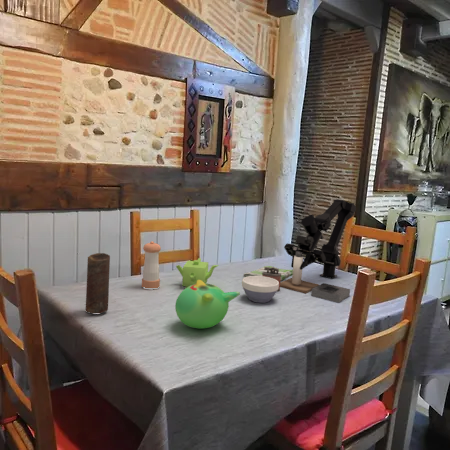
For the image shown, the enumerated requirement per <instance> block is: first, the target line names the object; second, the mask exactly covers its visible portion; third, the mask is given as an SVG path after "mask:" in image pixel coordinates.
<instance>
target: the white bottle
mask: <svg viewBox="0 0 450 450" xmlns="http://www.w3.org/2000/svg"><path fill="white" fill-rule="evenodd" d="M303 261H304V256H303V254H302V252H300V251H296V256H294V263H293V268H292V270H293V275H292V276H291V278H292V283H293V284H297V285H299V284H301V280H302V275H303V269H302V270H300V266H301V264H302V263H303Z"/></svg>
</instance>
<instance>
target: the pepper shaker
mask: <svg viewBox="0 0 450 450" xmlns="http://www.w3.org/2000/svg"><path fill="white" fill-rule="evenodd" d="M161 248H162V247H161V245H160V244H158V243H155V241H153V240H152V241H150V242H148V243H145V244H144V245H143V247H142V249H143V251H144V262H143V269H142V277H141V288H142V287H145V288H158V287H159V286H160V284H161V283H160V281H161V280H160V266H159V265H160V264H159V256H160V255H159V252H160V251H161V250H162V249H161ZM159 288H160V287H159Z"/></svg>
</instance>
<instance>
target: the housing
mask: <svg viewBox="0 0 450 450" xmlns="http://www.w3.org/2000/svg"><path fill="white" fill-rule="evenodd" d="M310 292H311V294H310V295H311V297H314V298H319V299H323V300H326V301H330V302H335V303H337V304H338V303H341V302H342V301H344V300H346V299H347V298H349V297H350V293H351V288H347V287H343V286H342V287H341V286H338V285H333V284H329V283H325V282H323V283H321V284H320V283H319V285H318V286H316V287H314V288H312V291H310Z"/></svg>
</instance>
